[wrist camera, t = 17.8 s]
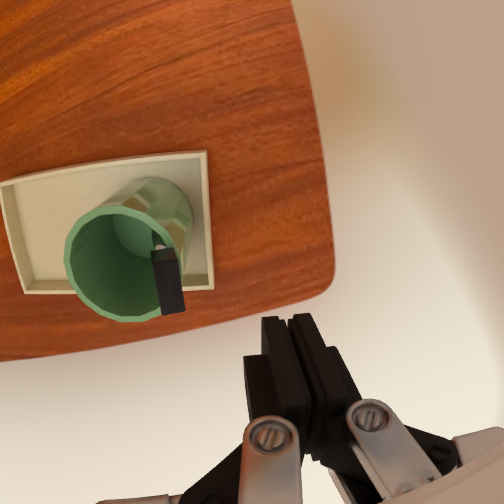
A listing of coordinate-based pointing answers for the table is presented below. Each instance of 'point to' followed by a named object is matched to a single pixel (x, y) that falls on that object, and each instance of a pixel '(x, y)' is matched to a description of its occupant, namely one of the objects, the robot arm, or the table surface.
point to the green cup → (127, 248)
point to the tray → (88, 196)
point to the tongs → (166, 276)
